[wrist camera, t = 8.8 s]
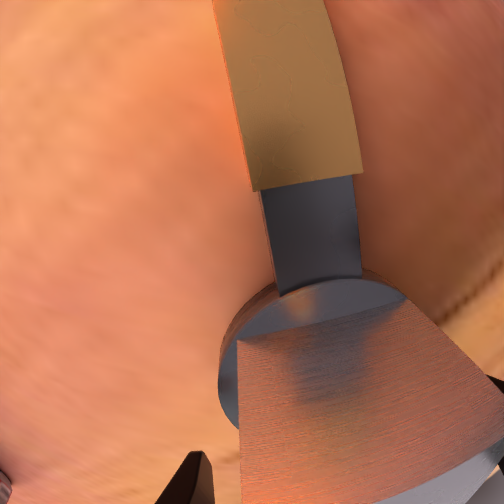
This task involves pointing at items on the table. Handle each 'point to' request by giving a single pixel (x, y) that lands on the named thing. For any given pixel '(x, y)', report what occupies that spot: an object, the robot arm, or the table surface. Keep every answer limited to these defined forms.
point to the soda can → (4, 489)
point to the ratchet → (295, 171)
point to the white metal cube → (365, 413)
